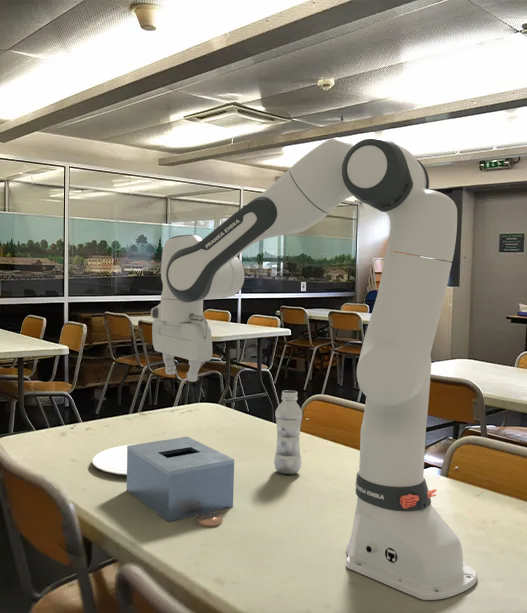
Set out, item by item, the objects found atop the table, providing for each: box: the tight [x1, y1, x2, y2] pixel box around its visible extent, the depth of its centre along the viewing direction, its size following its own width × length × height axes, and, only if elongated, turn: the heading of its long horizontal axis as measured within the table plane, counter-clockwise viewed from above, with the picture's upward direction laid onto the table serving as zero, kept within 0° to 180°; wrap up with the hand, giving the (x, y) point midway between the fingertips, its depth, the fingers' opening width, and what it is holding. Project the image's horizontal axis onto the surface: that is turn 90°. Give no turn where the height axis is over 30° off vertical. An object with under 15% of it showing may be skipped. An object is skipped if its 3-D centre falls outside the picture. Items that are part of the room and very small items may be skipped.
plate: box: [91, 443, 137, 477], centre depth 155 cm, size 25×25×2 cm
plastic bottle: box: [273, 390, 303, 475], centre depth 151 cm, size 6×7×20 cm
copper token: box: [196, 511, 224, 528], centre depth 122 cm, size 5×5×1 cm
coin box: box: [126, 436, 235, 523], centre depth 133 cm, size 20×15×10 cm
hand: (180, 377), depth 132 cm, fingers open, 8 cm apart
